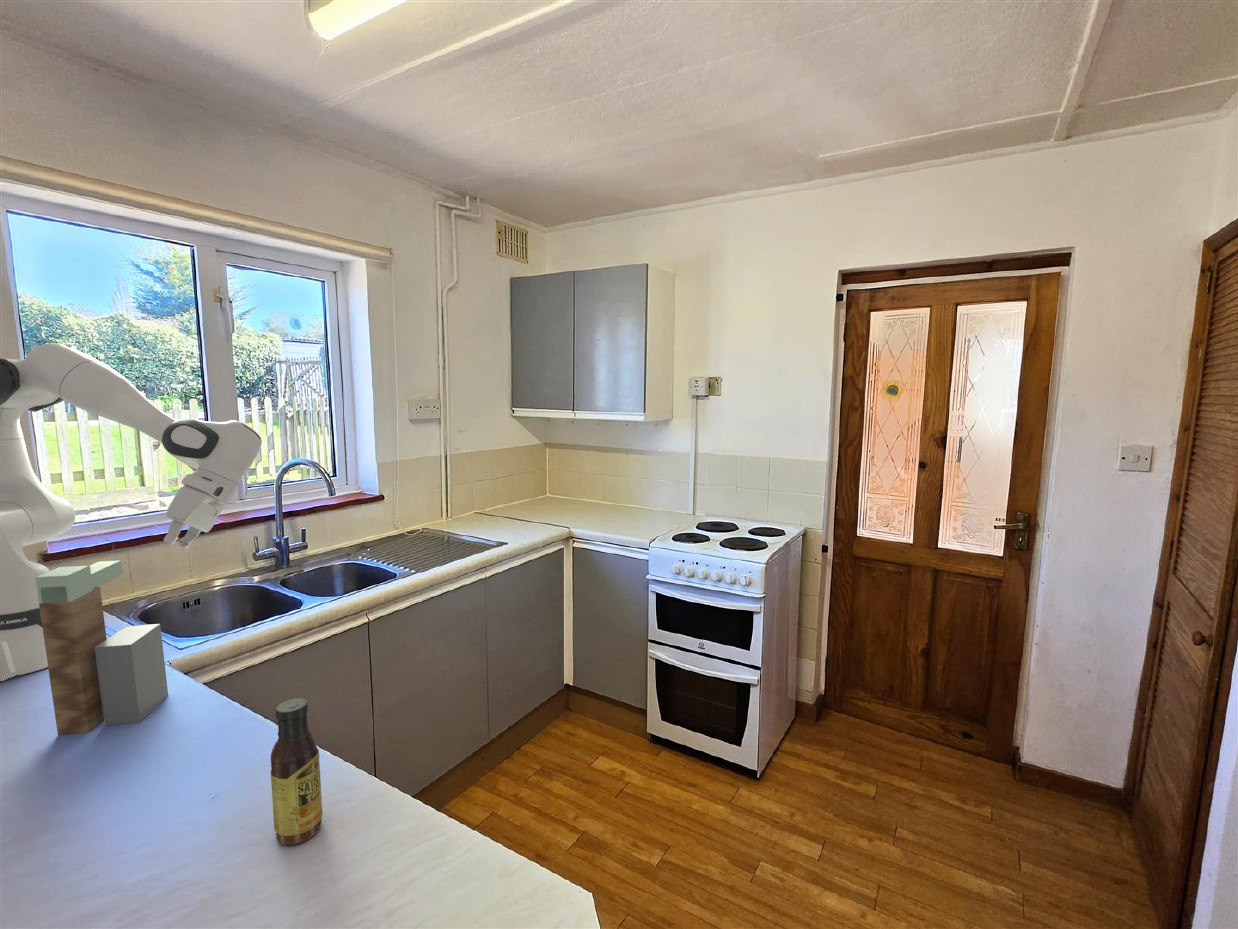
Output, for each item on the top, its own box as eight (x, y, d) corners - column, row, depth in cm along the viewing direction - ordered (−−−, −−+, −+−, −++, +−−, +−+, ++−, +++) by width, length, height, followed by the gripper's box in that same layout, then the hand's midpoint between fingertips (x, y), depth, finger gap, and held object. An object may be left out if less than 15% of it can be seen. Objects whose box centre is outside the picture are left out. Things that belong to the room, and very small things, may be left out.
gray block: (104, 725, 112) (94, 647, 110) (135, 698, 122) (127, 626, 120) (140, 721, 114) (130, 644, 111) (168, 695, 123) (160, 623, 121)
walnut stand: (57, 735, 109) (39, 603, 106) (87, 712, 117) (70, 588, 113) (88, 732, 110) (71, 601, 107) (115, 709, 118) (100, 586, 114)
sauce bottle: (308, 849, 83) (298, 719, 80) (265, 848, 83) (253, 719, 80) (332, 815, 89) (323, 694, 86) (292, 814, 89) (282, 693, 86)
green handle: (39, 603, 106) (35, 577, 105) (97, 575, 121) (94, 552, 120) (71, 601, 107) (67, 575, 106) (125, 574, 122) (122, 551, 121)
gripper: (209, 490, 140) (175, 543, 135) (182, 473, 122) (142, 534, 117) (236, 501, 142) (204, 554, 137) (213, 485, 123) (175, 546, 118)
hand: (175, 545), depth 127 cm, fingers open, 8 cm apart
